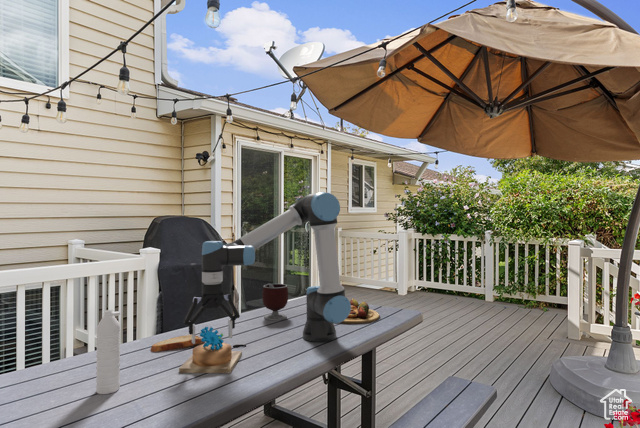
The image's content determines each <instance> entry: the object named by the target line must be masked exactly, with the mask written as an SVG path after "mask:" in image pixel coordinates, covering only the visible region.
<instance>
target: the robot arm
mask: <svg viewBox="0 0 640 428" xmlns="http://www.w3.org/2000/svg"><path fill="white" fill-rule="evenodd" d="M340 211H341V204H340V202H339V200H338V198H337V197H336V196H335V195H334V194H332V193H331V192H324V191H321V192H316V193H309V194H307V195H305V196H303V197H302V198H301V199H299V200H298V201H296V202H294V203H292V204H291V205H289V206H288V210H285V211H284V212H282V213H280V214H279V215H277V216H275V217H274V218H272V219H270V220H268V221H267V222H265V223H263V224H261V225H260V226H258V227H256V228H255V229H253V230H251V231H250V232H247V233H246V234H244V235H242V236H241V237H239V238H237V239H235V240H234V241H232V242H228V243H226V244H225V245H224V243H223V241H221V240H207V241H204V242H202V246H201V247H202V248H201V283H202V284H201V297H196V296H193V297H192V302H191V304H190V306H189V309H188V311H187V313H186V315H185V316H184V318H183V323H184V325H186V326H187V325H188V335H192V343H193V344H195V335H196V324H195V323H196V322H197V320H198V319H200V316H201V315H202V314H203V313H204V311H206V310H207V309H208V310H209V309H210V310H211V309H217V308H218V307H219V308H220V309H221V310H222V311H223V312H224V313H225V314H226V316H228V317H229V318H230V319H228V324H227V325H228V328H227V329H228V331H227V332H228V338H229V339H233V329H235V327H236V325H235V324H236V319H240V316H241V315H240V313H239V311H238V310H237V308H236V306H235V304H234V302H233V298H232V294H230V293H227V294H224V293H223V292H224V291H223V290H224V283H223V281H224V278H223V277H224V271H223V270H224V269H223V268H224V267H232V266H234V267H235V266H251V265H253V264H254V263H255V260H256V250H257V249H259V248H261V247H262V246H264V245H265V244H267V243H269V242H270V241H272V240H274V239H276V238H277V237H279V236H280V235H282V234H284V233H286V232H288V231H289V230H291V229H292V228H294V227H296V226H297V225H298V226H302V225H303V224H305V223H307V222H309V228H311V229H312V230H313V234H314V243H315V251H316V253H315V254H316V260H317V268H318V270H317V271H318V278H319V285H313V286H309V287H307V288H306V293H305V296H306V321H305V325H304V326H303V327H304V328H303V330H302V339H303V340H306V341H307V342H314V343H325V342H330V341H331V342H332V341H334V340H335V339H336V338H337V330H336V327H335V324H340V322H342V321H344V320H345V319H346V318H347V317H348V316H349V314H350V311H351V304H350V299H348V297H346V290H345V286H343V285H342V284H341V277H340V269H339V259H338V251H337V250H338V249H337V242H336V240H337V239H336V233H335V232H336V231H335V228H336V226H337V225H338V216H339V215H340ZM224 300H226V301H227V303H228V306H229V308H230V309H231V311H232V313H233V314H232V313H231V312H230V311H229V310H228V308H227V307H226V306H225V305H224V304H223V303H222V302H223V301H224ZM200 302H201V303H202V304H201V306H200V307H199V308H198V310H196V308H197V305H198V304H199V303H200ZM195 310H196V312H195V313H194V311H195Z"/></svg>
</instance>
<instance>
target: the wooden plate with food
mask: <svg viewBox="0 0 640 428" xmlns="http://www.w3.org/2000/svg"><path fill="white" fill-rule="evenodd" d="M349 301H350V304H351V311H350V314H349V316H348V317H347V318H346V319H345V320H344V321H342V322H340V323H339V325H363V324H364V325H365V324H369V323H373V322H377V321H378V320H379V319H380V318H381V317H380V314H379V313H378V312H377V311H376V310H374V309H371V308H370V306H369V304H368V303H367V302H366V301H362V302H361V303H360V304H359V302H358V301H357V299H354V298H351V299H349Z"/></svg>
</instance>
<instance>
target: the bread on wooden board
mask: <svg viewBox="0 0 640 428" xmlns="http://www.w3.org/2000/svg"><path fill="white" fill-rule="evenodd" d="M204 344H205V343H203V344H200V345H196V346H194V348H192V355H190V357H189V358H187V360H186V361H184V363H182V365H180V366H179V368H178V373H180V374H181V373H182V374H183V373H185V374H210V373H211V374H231V373H232V371H233V370H234V368H235V367H236V365H237V364H238V362H239V360H240V359H241V357H242V355H243V351H241V350H240V351H239V350H238V351H236V350H234V351H233V350H232V348H233V347H232V345H231V344H229V343H226V342H223V343H222V345H223V346H222V347H221V348H220V349H219V350H216V349H215V348H216V346H215V345H214V347H215V348H214V349H213V350H212V349H210V347H211V346H212V345H209V346H208V347H205V348H204V347H203V345H204ZM218 346H219V345H218Z"/></svg>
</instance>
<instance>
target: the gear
mask: <svg viewBox="0 0 640 428" xmlns="http://www.w3.org/2000/svg"><path fill="white" fill-rule="evenodd" d="M213 330H214V327H213V326H210V327H208V326H204V328H201V330H200V333H199V337H200V338H201V341H202V342H204V343H203V344H204V345H203V347H204V348H205V347H208V346H209V345H212V346H211V347H210V349H212V350H213V349H214V348H215V347H214V345H215V346H216V348H215V349H216V350H219V349H220V348H221V347H222V346H223V345H222V343H225V342H224V339H222V338H223V336H224V334H223V333H220V334H219V331H218V329H216V330H214V331H213ZM218 345H219V346H218Z"/></svg>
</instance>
